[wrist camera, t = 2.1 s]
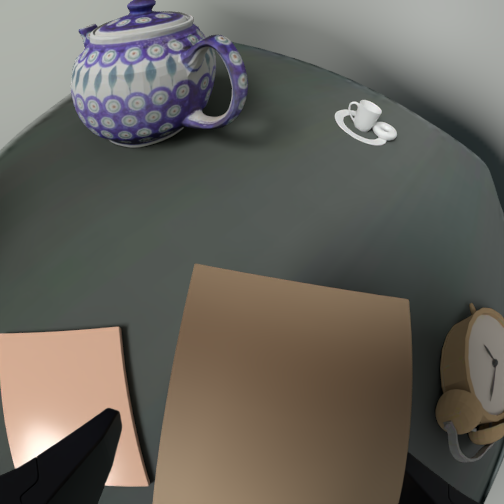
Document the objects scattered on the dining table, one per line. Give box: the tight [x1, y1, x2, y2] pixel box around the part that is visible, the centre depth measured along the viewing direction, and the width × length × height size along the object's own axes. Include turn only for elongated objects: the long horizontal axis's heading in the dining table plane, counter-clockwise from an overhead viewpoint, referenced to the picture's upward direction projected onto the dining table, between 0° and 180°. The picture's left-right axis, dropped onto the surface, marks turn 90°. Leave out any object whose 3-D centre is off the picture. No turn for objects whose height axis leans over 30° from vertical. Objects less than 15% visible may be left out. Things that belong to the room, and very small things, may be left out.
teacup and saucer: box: [335, 100, 397, 145], centre depth 33 cm, size 9×8×4 cm
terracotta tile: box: [0, 327, 150, 486], centre depth 14 cm, size 11×11×1 cm
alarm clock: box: [435, 303, 504, 462], centre depth 17 cm, size 11×5×15 cm
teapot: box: [71, 0, 248, 148], centre depth 22 cm, size 25×15×15 cm, turn 53°
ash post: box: [153, 264, 412, 504], centre depth 10 cm, size 5×5×14 cm
